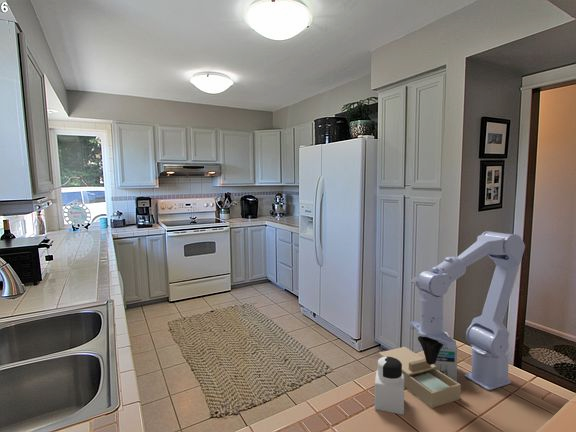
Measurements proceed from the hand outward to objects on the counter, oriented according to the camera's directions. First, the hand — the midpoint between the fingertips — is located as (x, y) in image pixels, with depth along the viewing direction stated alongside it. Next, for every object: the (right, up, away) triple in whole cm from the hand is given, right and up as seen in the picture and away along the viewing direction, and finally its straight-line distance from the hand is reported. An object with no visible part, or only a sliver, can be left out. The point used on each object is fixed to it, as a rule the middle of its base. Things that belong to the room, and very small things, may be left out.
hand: (431, 362), depth 90 cm
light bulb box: (+8, -8, +11) cm, 16 cm away
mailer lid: (-3, -4, +9) cm, 11 cm away
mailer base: (0, -8, +1) cm, 8 cm away
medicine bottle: (-13, -9, -4) cm, 16 cm away
